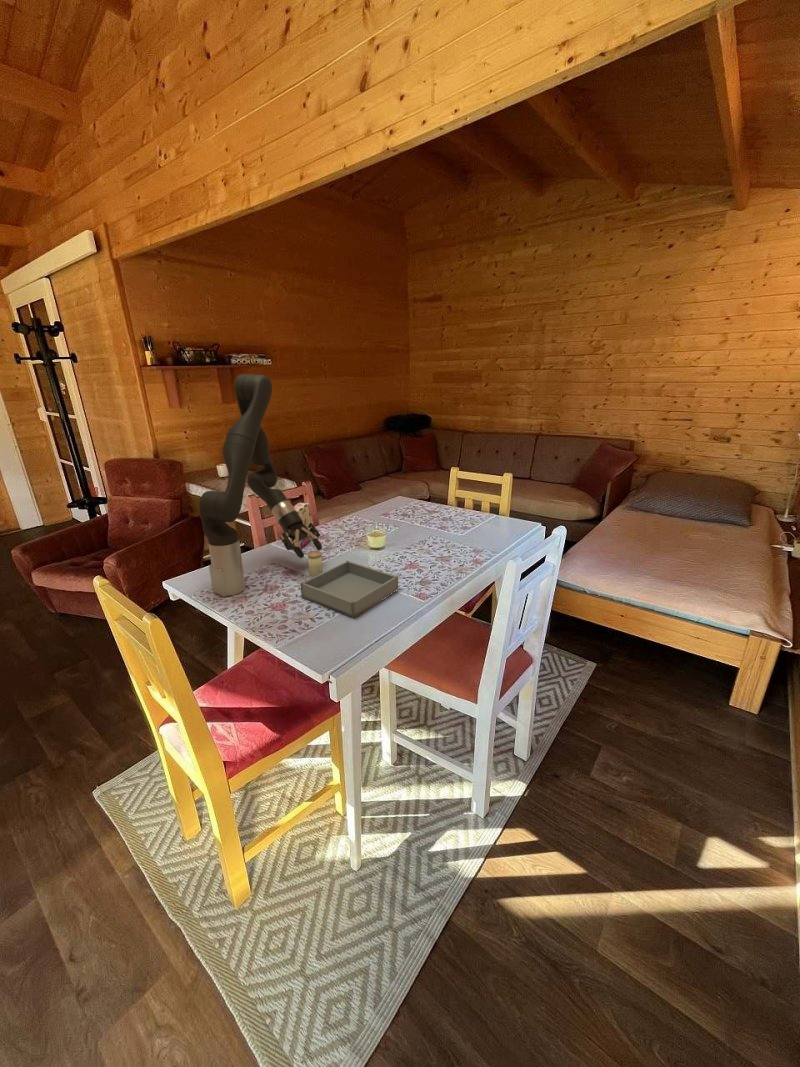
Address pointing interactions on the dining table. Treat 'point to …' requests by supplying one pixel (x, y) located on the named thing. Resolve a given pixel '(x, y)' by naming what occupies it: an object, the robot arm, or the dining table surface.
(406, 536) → the dining table surface
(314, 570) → the lidded yellow jar
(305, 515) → the candy bar box
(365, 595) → the bin
